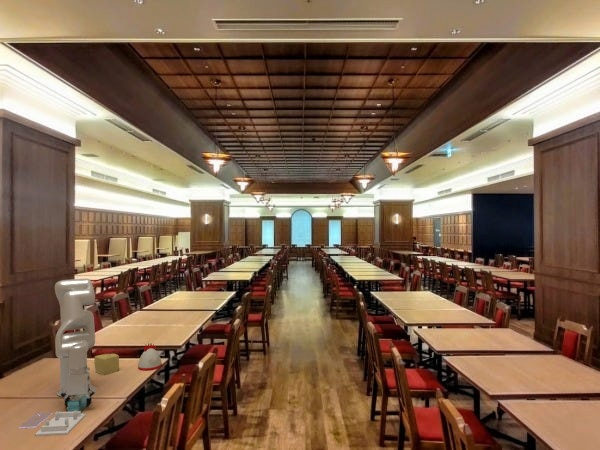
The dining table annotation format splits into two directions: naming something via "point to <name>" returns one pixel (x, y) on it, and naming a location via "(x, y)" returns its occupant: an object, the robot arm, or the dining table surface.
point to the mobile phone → (35, 420)
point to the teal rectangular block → (77, 403)
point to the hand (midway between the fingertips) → (78, 406)
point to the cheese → (106, 363)
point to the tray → (61, 423)
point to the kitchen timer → (149, 359)
